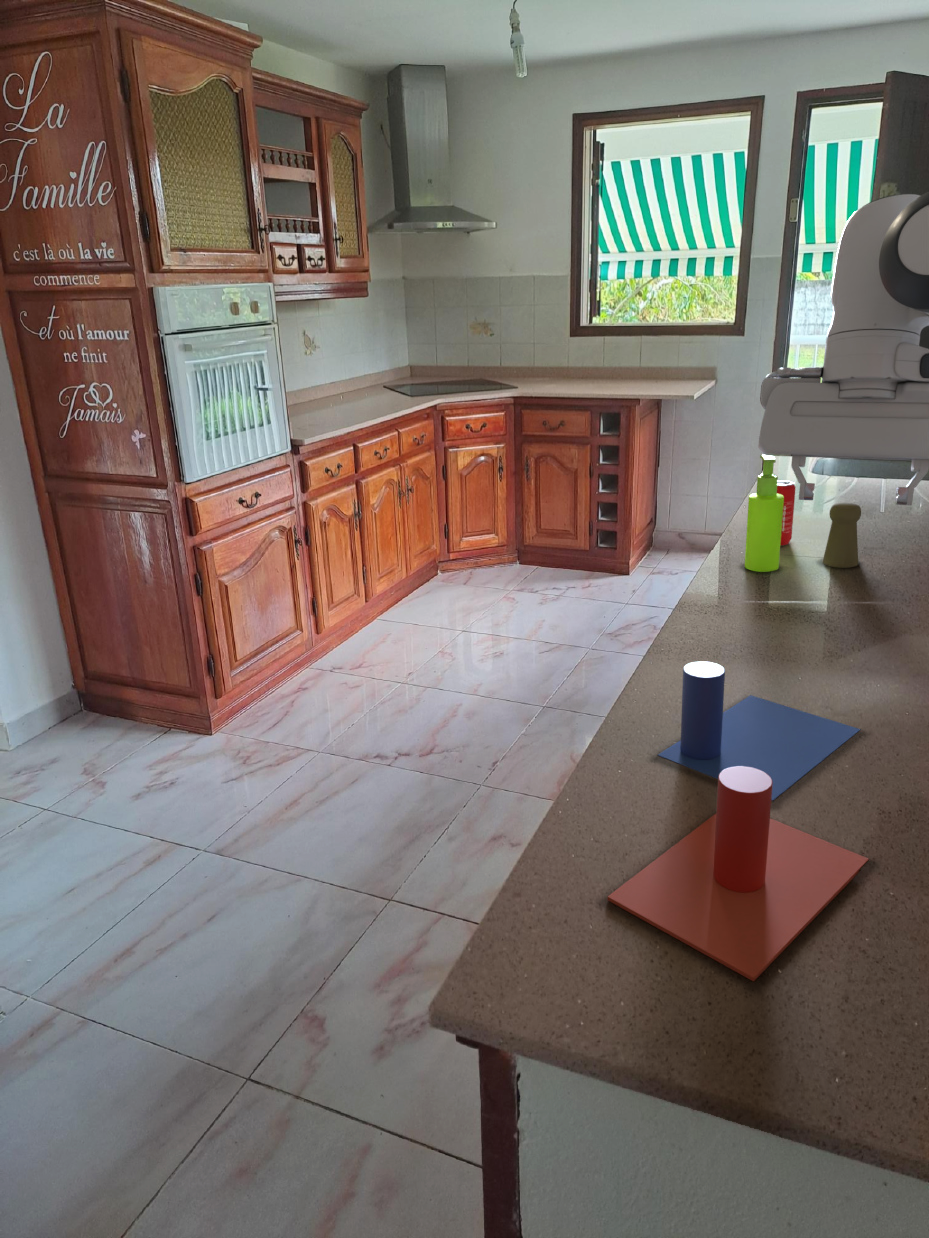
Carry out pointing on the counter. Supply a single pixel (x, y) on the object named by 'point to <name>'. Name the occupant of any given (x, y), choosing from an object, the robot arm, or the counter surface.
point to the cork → (843, 536)
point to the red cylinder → (742, 828)
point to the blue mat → (769, 742)
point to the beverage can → (787, 509)
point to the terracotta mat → (739, 895)
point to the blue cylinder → (702, 710)
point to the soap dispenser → (764, 521)
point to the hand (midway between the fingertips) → (853, 502)
